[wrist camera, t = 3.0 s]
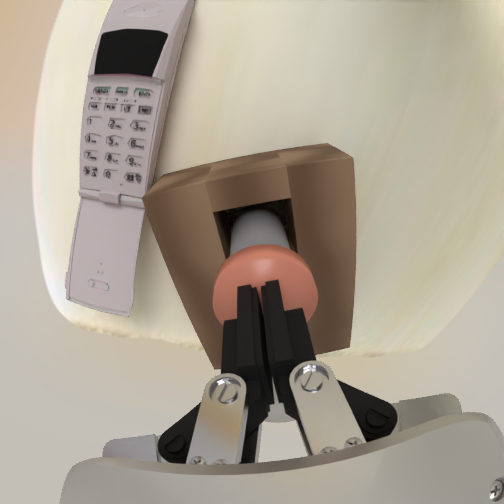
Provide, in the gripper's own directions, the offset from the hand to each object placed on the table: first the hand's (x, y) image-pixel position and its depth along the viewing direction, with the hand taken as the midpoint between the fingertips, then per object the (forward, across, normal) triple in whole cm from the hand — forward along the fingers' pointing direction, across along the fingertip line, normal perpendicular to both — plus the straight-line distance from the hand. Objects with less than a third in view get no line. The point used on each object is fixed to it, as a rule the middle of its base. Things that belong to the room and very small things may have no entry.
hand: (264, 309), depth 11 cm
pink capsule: (+7, 0, 0) cm, 7 cm away
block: (+11, 0, +4) cm, 11 cm away
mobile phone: (+11, +8, -8) cm, 16 cm away
